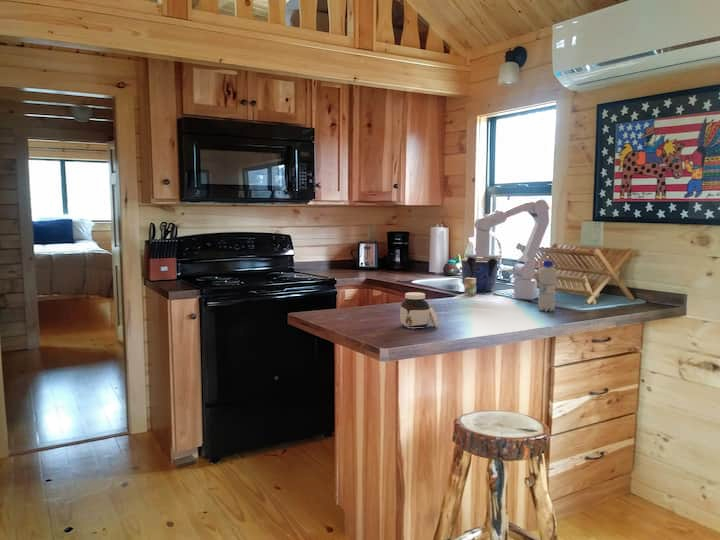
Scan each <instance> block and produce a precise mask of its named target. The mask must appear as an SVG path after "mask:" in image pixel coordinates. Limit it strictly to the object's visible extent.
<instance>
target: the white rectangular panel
mask: <svg viewBox="0 0 720 540" xmlns="http://www.w3.org/2000/svg"><path fill="white" fill-rule="evenodd" d="M506 298H507V297H506V296H498V295H497V296H496V295H486V294H477V293H476V296H474V297H469V296H465V292H464V293H461V294H457V295H455V296H453V297H450V299H453V300H454V299H455V300H462V301H463V300H465V301H475V302H483V303H494V304H496V303H497V302H499V301H502V300H504V299H506Z"/></svg>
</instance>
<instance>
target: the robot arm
mask: <svg viewBox="0 0 720 540" xmlns="http://www.w3.org/2000/svg"><path fill="white" fill-rule="evenodd" d="M549 209H550V206H549V203H547V201H546V200H544V199H542V198H541V199H528V200H525V201H522V202H520V203H518V204H516V205H513V206H512V207H510V208H507V209H505V210H502V209H495V210H494V212H491V213H489V214H488V213H486V214H484V216H480V217H478V218H477V219H476V220H475V222H474V223H473V225H474V227H475V229H476V231H475V253H465V258H467V259H468V260H467V262H468V264H469V266H470V269H471V274H472V275H475V263H476V259H487V260H489V261H488V264H489V274H488V275H489V277H490V276H492V272H493V269H494V266H495V264H496V263H497V260H498V261H499V260H500V255H496V254H495V255H494V254H490V230H491V229H492V228H493V227H495V226H498V225H501V224H503V223H505V222H506V220H507V219H508V218H510V217H513V216H515V215H518V214H521V213H523V212H524V213H526V212H527V213H528V214H529V215H530V216H532V218H533V221H534V225H533V228H532V230H531V231H530V232H531V233H530V235H529V238H528V241H527V243H526V245H525V247H524V250H523V253H522V255H521V256H520V257H519V258H518V260H517V262H516V263H514V265H513V267H512V273H513V274H514V290H513V291H514V294H513V296H511V297H510V298H511V299H520V300H521V299H522V300H532V301H533V300H534V299H536V298H537V297H538V294H537V293H538V281H537V279H533V276H534V275H535V267H536V261H535V259H536V256H537V253H538V251H539V249H540V245H541V244H542V241H543V238H544V236H545V233H546V231H547V229H548V226H549V223H550V215H549Z"/></svg>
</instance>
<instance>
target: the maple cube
mask: <svg viewBox="0 0 720 540" xmlns="http://www.w3.org/2000/svg"><path fill="white" fill-rule="evenodd" d="M463 287H464V288H465V287H467V288H474V287H476V278H469V277H468V278H465V283H464V285H463Z"/></svg>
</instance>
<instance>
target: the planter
mask: <svg viewBox="0 0 720 540" xmlns="http://www.w3.org/2000/svg"><path fill="white" fill-rule="evenodd" d="M467 260H468V259H467V258H466V257H465V258H462V259H461V276H462V278H461V279H462V284H463V286H464V283H465V278H468V277H469V278H476V293H489V292H491V291H492V290H493V289H494V287H495V286H496V282H497V273H498V264H499V260H497V263H496V264H495V266H494V269H493V272H492V276H490V277H489V275H488V274H489V264H488V261H489V260H487V259H476V263H475V275H472V274H471V269H470V266H469V264H468V262H467Z"/></svg>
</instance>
